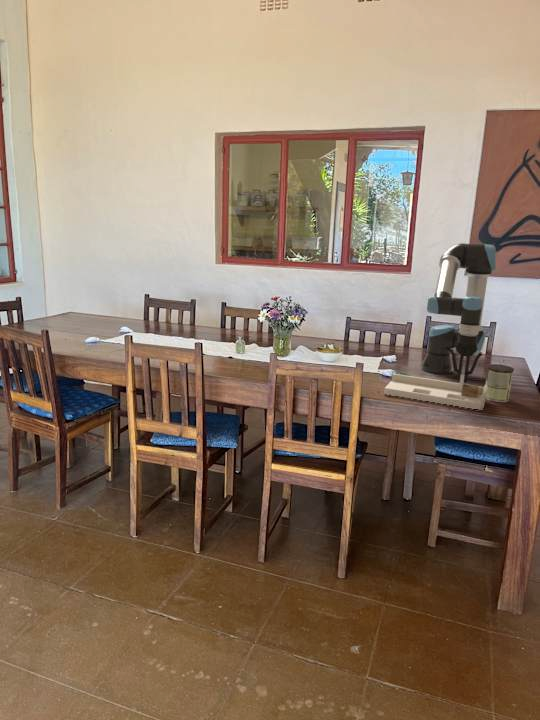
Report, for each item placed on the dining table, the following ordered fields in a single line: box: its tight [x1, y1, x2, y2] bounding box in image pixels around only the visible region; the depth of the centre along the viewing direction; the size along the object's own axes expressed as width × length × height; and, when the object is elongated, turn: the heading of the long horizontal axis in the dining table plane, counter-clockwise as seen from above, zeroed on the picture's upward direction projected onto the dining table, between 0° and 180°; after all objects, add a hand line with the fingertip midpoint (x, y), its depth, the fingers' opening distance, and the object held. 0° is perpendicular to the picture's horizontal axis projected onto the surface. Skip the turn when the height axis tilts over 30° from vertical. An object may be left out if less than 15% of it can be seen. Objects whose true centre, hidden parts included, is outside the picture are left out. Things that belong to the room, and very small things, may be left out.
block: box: [461, 383, 479, 398], centre depth 219 cm, size 5×6×4 cm
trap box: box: [383, 373, 488, 411], centre depth 224 cm, size 15×40×7 cm, turn 65°
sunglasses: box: [390, 370, 412, 382], centre depth 244 cm, size 14×15×5 cm
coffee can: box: [485, 364, 515, 403], centre depth 225 cm, size 10×10×14 cm
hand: (460, 388), depth 222 cm, fingers closed
